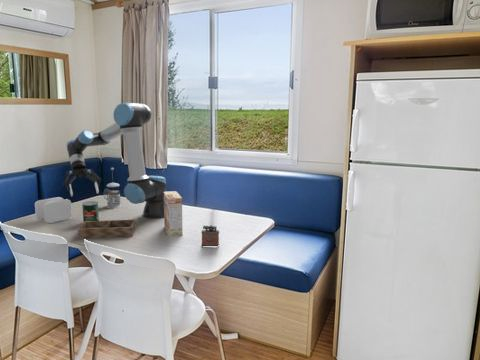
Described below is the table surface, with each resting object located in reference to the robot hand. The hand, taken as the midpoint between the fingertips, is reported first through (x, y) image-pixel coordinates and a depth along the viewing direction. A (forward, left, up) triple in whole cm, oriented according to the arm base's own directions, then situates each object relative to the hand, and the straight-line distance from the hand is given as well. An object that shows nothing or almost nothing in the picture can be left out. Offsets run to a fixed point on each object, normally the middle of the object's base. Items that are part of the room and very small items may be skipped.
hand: (85, 193), depth 200 cm
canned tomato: (-4, +9, -14) cm, 17 cm away
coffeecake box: (-48, +28, -14) cm, 58 cm away
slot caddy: (-16, +27, -14) cm, 34 cm away
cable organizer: (+17, +2, -14) cm, 22 cm away
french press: (-10, -23, -14) cm, 29 cm away
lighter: (-65, +51, -14) cm, 84 cm away
